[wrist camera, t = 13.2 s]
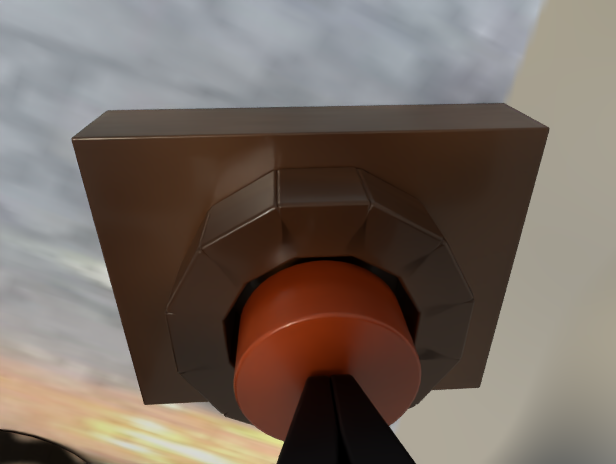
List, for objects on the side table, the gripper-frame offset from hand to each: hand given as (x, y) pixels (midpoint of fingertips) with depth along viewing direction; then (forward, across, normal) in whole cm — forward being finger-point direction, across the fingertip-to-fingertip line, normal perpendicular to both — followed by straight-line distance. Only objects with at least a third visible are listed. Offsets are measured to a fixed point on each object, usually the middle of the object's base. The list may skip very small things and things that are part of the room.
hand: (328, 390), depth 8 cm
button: (+2, 0, 0) cm, 2 cm away
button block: (+5, 0, 0) cm, 5 cm away
